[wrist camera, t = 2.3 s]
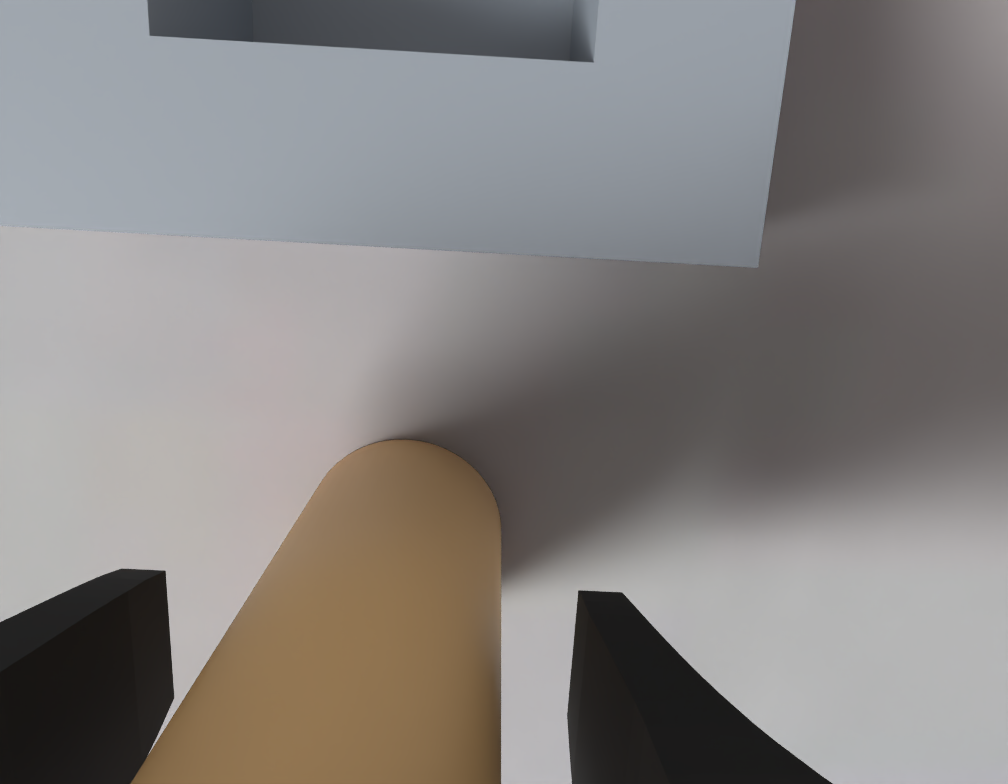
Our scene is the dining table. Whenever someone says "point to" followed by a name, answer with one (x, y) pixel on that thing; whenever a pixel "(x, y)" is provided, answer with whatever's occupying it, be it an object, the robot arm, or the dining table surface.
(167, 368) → the dining table surface
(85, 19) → the socket block
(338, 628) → the peg
